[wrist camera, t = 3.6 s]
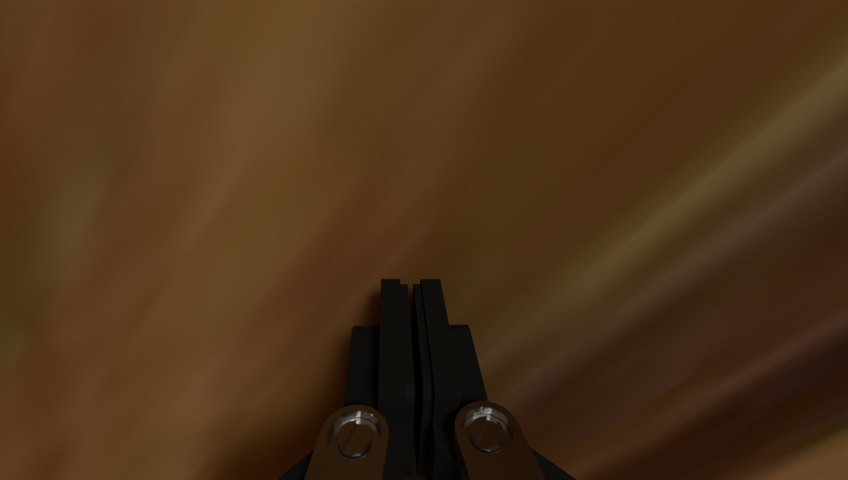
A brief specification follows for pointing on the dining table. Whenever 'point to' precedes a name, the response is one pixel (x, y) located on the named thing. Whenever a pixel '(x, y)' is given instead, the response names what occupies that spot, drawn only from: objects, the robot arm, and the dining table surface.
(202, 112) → the dining table surface
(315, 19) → the dining table surface
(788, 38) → the dining table surface
